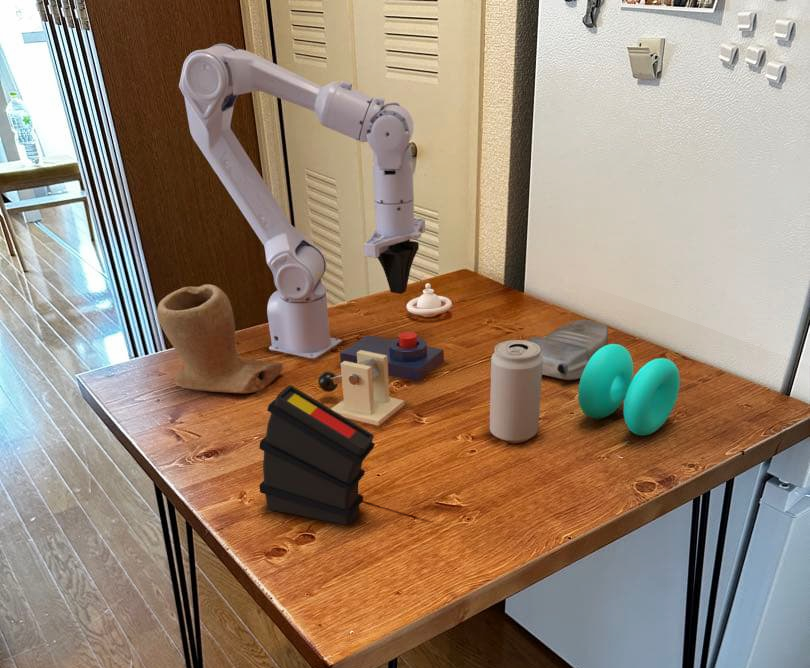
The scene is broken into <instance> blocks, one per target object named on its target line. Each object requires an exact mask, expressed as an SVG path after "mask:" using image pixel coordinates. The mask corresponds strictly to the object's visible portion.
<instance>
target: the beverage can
mask: <svg viewBox="0 0 810 668" xmlns="http://www.w3.org/2000/svg"><path fill="white" fill-rule="evenodd" d="M542 365H543V357H542V355H541V354H540V347H539V346H538V345H537V344H535V343H533V342H530V341H528V340H524V339H510V340H505V341H502V342H500V343H498V344H496V345H495V346H494V352H493V353H492V355H491V359H490V392H489V395H490V397H489V432H490V434H492V435H493V436H494V437H496V438H497V439H500V440H502V441H506V443H508V444H520V443H523V442H527V441H528V440H530V439H531V438H533V437H534V436H536V434H537V433H538V431H539V425H540V423H539V422H540V410H541V409H540V408H541V395H542V394H541V393H542V380H543V379H542V378H543V374H542Z"/></svg>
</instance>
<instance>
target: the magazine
mask: <svg viewBox="0 0 810 668" xmlns="http://www.w3.org/2000/svg"><path fill="white" fill-rule="evenodd" d="M266 410H267V412H269V413H270V415H269V418H268V421H267V425H266V426H267V427H266V434H265V437H263V438H262V439H261V440H260V441H259V450H261V451H263V459H262V460H263V461H262V470H263V471H262V472H263V480H262V481H261V482H260V484H259V485H258V487H259V493H260V494H264V495H265V501H266V508H267V510H270V511H274V512H279V513H284V514H288V515H289V514H290V515H293V516H294V515H295V516H298V517H303V518H309V519H313V520H319V521H324V522H330V523H334V524H339V525H344V526H350V525H351V524H352V522H353V521H354V520H355V518H356V517H357V516H358V515H359V513H360V505H361V504H362V502H363V501H364V495H363V494H360V493H359V484H360V480H361V479H362V478H363V477H364V476H365V472H366V471H365V470H364V469H362V465H363V462H364V460H365V459H366V458H367V457H368V456H369V454H370V453H371V452H372V451H373V449H374V447H375V445H376V443H375V442H373V440H374V438H375V435H374V434H373V433H372V432H370V431H369V430H367V429H365V428H363V427H362V426H360V425H359V424H356V423H355V422H353V421H352V420H351V419H349V418H345V417H343V416H342V415H340V414H338V413H337V412H335V411H333V410H332V409H331V408H330V407H328V406H327V405H326V404H323V403H321V402H320V401H318V400H317V399H315V398H314V397H311V396H310V395H308V394H306V393H305V392H303V391H302V390H300V389H298V388H297V387H295V386H294V385H287V386H286V387H285V388H284V389H282V391H280V392H279V393H278V394H276V397H275V399H274V400H272V401H271V402H270V403H269V404H268V407H267V409H266Z"/></svg>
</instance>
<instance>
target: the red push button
mask: <svg viewBox="0 0 810 668" xmlns="http://www.w3.org/2000/svg"><path fill="white" fill-rule="evenodd" d="M417 337H418V334H417V333H416V332H414V331H404V332H400V333H399V334H398V337H397V338H399V347H400V348H413V347H417Z"/></svg>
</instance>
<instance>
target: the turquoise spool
mask: <svg viewBox="0 0 810 668" xmlns="http://www.w3.org/2000/svg"><path fill="white" fill-rule="evenodd" d="M680 376H681V375H680V371H679V369H678V366H677V365H676V364H675V362H673V361H672V360H671V359H668V358H665V357H659V358H658V357H657V358H654V359H652V360H649V361H648V362H646V363H645V364H643V366H642V367H640V369H639V370H638V371H637V372H636V374H635V375H634V363H633V357H632V356H631V354H630V352H629V350H628V349H627V348H626V347H625V346H623V345H621V344H618V343H610V344H607V345H606V346H604V347H602V348H601V349H599V350H598V351H597V352H596V353H595V354H594V355H593V356H592V357H591V358H590V360H589V361H588V363H587V365H586V367H585V369H584V371H583V373H582V376H581V378H579V379H580V380H579V385H578V390H577V391H578V392H577V398H578V404H579V407H580V409H581V411H582V412H583V414H584V415H586V417H589V418H591V419H596V420H597V419H598V420H599V419H604V418H607V417H608V416H610V415H612V414H613V413H615V412H616V411H617V410H618V409H619V408H620V407H621V405H622V404H623V410H622V411H623V418H624V422H625V425H626V427H627V428H628V430H629V431H630V432H632V433H633V434H634V435H638V436H650V435H651V434H654V433H655V432H657V431H659V429H660V428H661V427H662V426H663V425H664V424H665V422H666V421H667V419H668V418H669V416H670V415H671V413H672V411H673V409H674V407H675V404H676V402H677V399H678V396H679V391H680V385H681V377H680Z"/></svg>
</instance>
